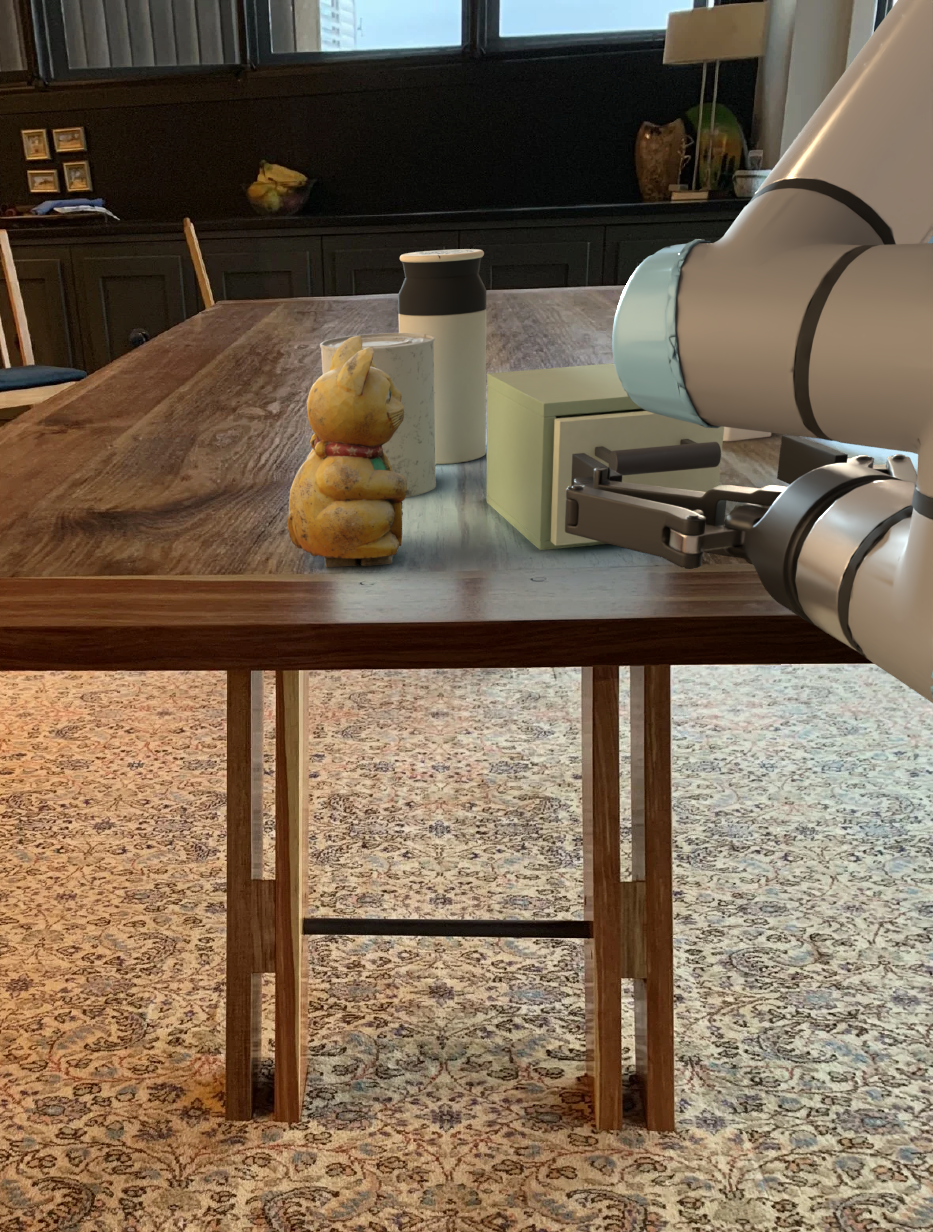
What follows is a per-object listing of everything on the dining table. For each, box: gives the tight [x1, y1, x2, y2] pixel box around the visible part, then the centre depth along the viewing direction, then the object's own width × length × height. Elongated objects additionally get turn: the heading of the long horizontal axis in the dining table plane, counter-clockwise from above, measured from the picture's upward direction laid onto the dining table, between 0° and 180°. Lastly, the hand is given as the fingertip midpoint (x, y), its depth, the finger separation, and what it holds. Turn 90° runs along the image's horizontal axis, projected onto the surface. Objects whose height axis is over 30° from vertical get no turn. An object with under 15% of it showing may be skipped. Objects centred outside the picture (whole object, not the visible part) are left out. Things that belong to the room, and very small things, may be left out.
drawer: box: [551, 409, 724, 546], centre depth 86 cm, size 18×12×8 cm, turn 8°
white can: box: [319, 332, 437, 498], centre depth 102 cm, size 10×10×12 cm
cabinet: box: [486, 362, 642, 551], centre depth 90 cm, size 15×13×10 cm
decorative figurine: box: [286, 335, 407, 568], centre depth 83 cm, size 10×8×15 cm
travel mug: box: [397, 248, 487, 465], centre depth 111 cm, size 8×8×18 cm
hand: (681, 465), depth 75 cm, fingers open, 13 cm apart
